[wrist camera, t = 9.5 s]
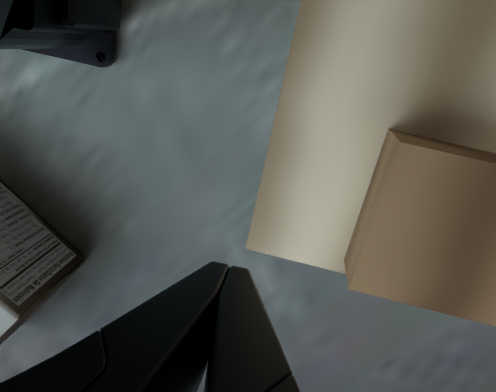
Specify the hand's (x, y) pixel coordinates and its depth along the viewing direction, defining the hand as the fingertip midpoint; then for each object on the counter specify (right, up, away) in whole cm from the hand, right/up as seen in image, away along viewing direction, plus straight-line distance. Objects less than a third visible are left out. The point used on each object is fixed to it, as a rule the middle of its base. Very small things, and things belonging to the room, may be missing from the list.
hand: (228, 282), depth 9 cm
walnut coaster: (+9, +1, +9) cm, 12 cm away
